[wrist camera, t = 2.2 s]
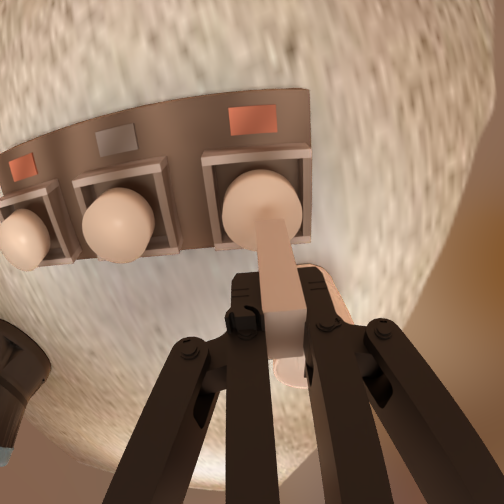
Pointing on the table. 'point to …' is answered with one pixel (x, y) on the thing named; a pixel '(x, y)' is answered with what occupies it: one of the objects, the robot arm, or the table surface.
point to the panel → (162, 167)
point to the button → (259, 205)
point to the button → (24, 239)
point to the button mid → (118, 225)
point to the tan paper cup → (293, 368)
